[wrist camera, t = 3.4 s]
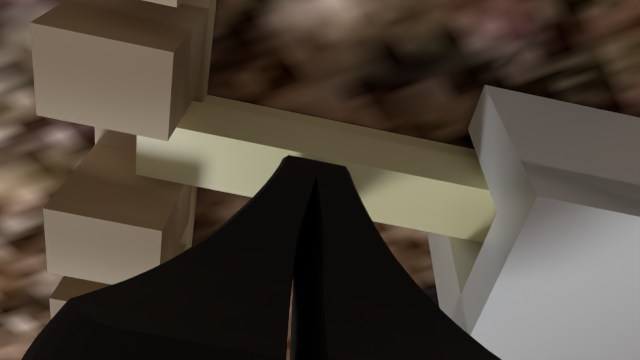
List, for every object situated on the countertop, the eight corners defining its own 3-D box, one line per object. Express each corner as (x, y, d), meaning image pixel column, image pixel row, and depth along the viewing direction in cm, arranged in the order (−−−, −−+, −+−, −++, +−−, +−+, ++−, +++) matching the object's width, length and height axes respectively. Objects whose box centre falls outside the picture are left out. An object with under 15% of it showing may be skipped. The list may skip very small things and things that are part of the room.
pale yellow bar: (979, 292, 16) (1063, 357, 14) (164, 128, 15) (135, 174, 13) (1020, 254, 16) (1116, 317, 14) (167, 79, 14) (136, 119, 12)
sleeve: (565, 263, 16) (634, 410, 12) (427, 236, 16) (450, 376, 12) (645, 118, 14) (763, 241, 10) (484, 84, 14) (537, 195, 10)
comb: (189, 273, 18) (153, 368, 15) (106, 258, 18) (53, 350, 14) (229, -128, 12) (184, -110, 9) (107, -155, 12) (18, -146, 9)
